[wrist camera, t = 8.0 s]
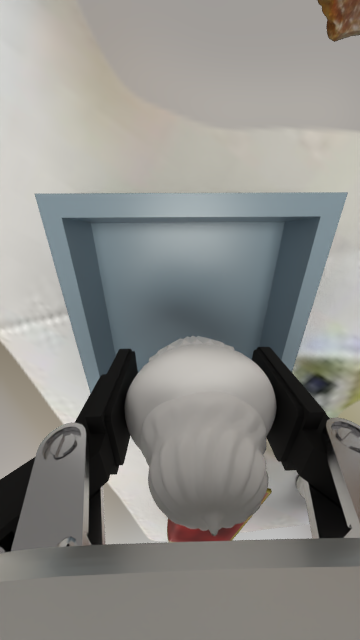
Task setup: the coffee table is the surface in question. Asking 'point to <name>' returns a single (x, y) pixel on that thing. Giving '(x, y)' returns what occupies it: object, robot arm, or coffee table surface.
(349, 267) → the coffee table surface
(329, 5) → the decorative stone
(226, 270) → the bin
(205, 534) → the hardcover book
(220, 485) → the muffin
